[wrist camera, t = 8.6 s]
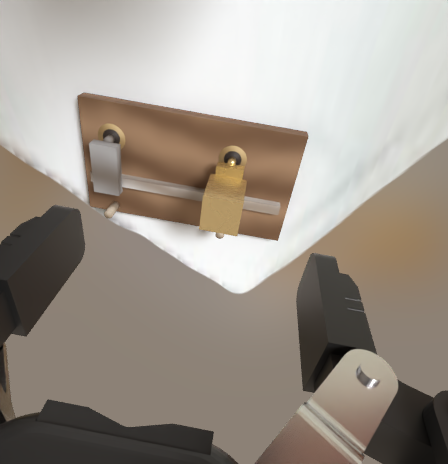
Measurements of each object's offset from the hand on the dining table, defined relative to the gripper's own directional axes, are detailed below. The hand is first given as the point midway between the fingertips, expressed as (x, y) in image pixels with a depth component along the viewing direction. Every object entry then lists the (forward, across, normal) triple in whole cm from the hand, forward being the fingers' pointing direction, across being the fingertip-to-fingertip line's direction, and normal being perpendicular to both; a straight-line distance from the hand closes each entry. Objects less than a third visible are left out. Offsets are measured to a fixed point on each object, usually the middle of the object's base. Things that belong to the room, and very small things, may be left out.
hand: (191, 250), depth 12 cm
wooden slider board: (+28, +5, +11) cm, 30 cm away
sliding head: (+26, 0, +11) cm, 28 cm away
